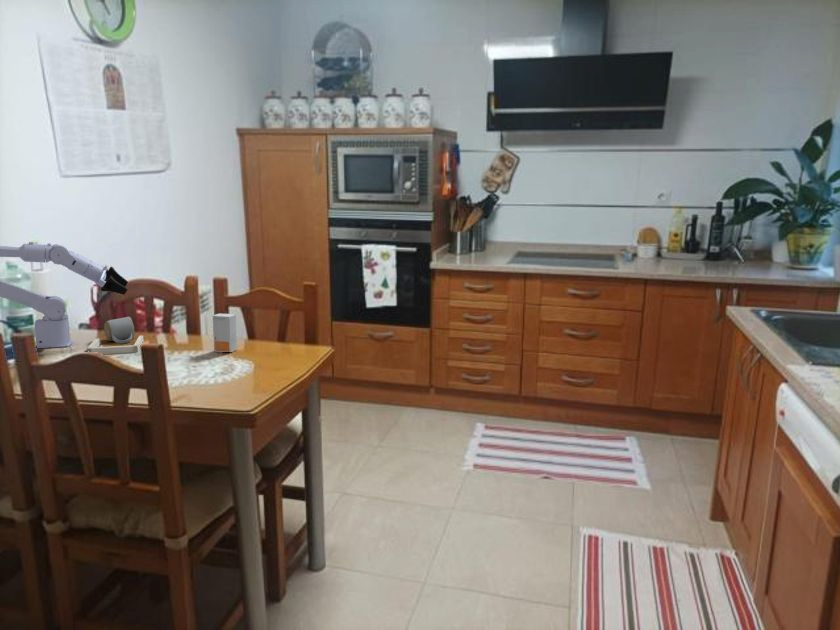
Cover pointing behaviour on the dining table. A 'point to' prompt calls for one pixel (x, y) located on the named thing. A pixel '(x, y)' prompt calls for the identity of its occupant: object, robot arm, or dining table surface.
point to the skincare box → (224, 332)
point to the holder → (115, 347)
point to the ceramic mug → (119, 330)
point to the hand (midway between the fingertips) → (126, 288)
